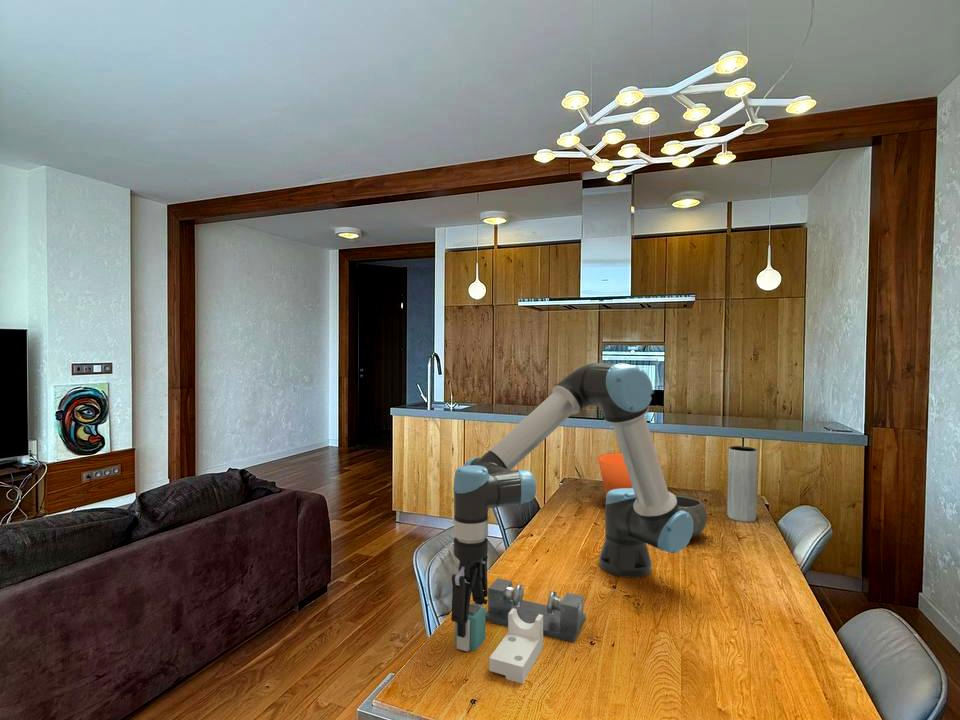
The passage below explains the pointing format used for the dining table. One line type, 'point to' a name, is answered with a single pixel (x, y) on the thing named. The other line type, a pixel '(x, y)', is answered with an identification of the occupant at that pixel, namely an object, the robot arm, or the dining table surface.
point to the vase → (742, 483)
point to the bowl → (694, 512)
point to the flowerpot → (614, 471)
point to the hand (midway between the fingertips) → (470, 640)
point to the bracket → (518, 648)
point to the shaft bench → (537, 610)
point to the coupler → (475, 626)
